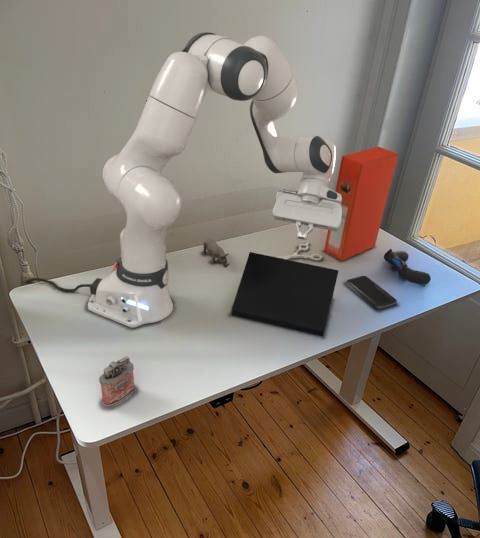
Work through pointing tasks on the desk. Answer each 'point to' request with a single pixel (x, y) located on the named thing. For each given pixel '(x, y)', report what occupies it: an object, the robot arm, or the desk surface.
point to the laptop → (279, 322)
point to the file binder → (361, 200)
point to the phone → (371, 292)
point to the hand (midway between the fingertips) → (301, 238)
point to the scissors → (296, 255)
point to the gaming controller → (406, 267)
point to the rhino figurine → (215, 252)
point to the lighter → (117, 382)
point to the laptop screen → (286, 291)
